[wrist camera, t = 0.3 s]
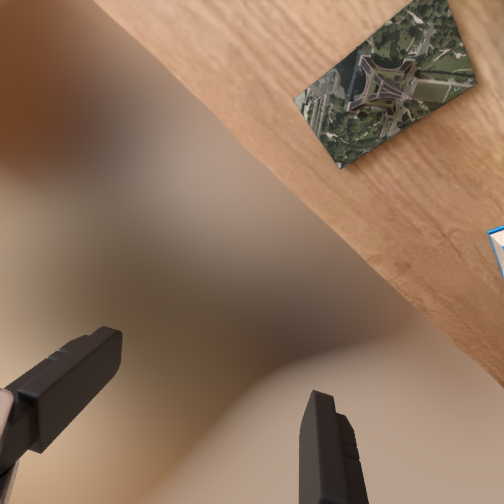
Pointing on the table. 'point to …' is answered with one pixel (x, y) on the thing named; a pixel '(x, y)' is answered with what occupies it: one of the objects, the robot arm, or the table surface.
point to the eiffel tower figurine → (388, 82)
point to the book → (498, 245)
